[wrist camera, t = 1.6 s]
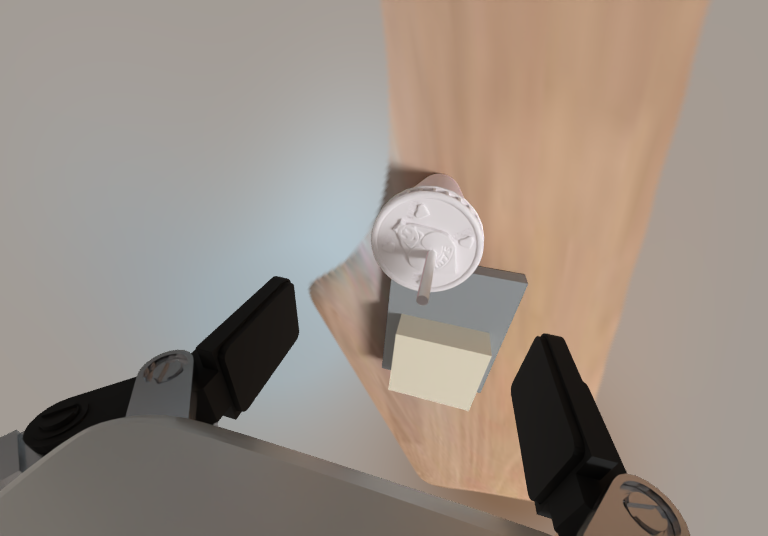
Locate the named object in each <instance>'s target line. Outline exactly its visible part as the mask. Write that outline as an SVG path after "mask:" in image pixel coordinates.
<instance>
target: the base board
mask: <svg viewBox="0 0 768 536" xmlns="http://www.w3.org/2000/svg"><path fill="white" fill-rule="evenodd" d="M527 285H528V282H527V279H526V276H525V275H524V274H519V273H513V272H508V271H502V270H497V269H492V268H486V267H481V266H477V268H476V270H475V271H474V272H473V273H472V275H471V276H470V277H469V278H467V279H466V280H465V281H464V282H462V283H461V284H459V285H457V286H455V287H453V288H450V289H447V290H444V291H438V292H430V297H429V302H428V304H427V305H423V306H422V305H419V304H418V303H417V302H416V297H417V293H418V291H416V290H412V289H409V288H406V287H404V286H402V285H400V284H398V283H396V282H395V281H393V280H392V279H391V286H390V296H389V305H388V315H387V324H386V334H385V343H384V353H383V362H382V368H385V369H388V370H391V374H390V382H389V389H388V390H392V391H396V392H400V393H403V394H407V395H411V396H414V397H418V398H422V399H426V400H429V401H433V402H437V403H441V404H444V405H448V406H452V407H456V408H459V409H463V410H467V411H469V409H470V406H471V404H472V402H473V399H474V397H475V395H476V392H478V393H480V392H481V390H482V388H483V385H484V383H485V381H486V379H487V376H488V374H489V372H490V369H491V367H492V365H493V363H494V360H495V358H496V356H497V353H498V351H499V349H500V347H501V344H502V342H503V340H504V338H505V335H506V333H507V331H508V328H509V326H510V324H511V322H512V319H513V317H514V315H515V312H516V310H517V308H518V306H519V303H520V301H521V299H522V296H523V294H524V292H525V290H526V287H527Z"/></svg>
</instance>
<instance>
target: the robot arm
mask: <svg viewBox="0 0 768 536" xmlns="http://www.w3.org/2000/svg"><path fill="white" fill-rule="evenodd" d="M298 335H299V326H298V317H297V309H296V300H295V291H294V285H293V284H292V283H291V282H290V280H289V279H287V278H282V277H277V276H275V277H273V278H272V279H270V280H269V281H268V282H267V283H266V284H265V285H264V286H263V287H262V288H261V289H259V290H258V291H257V292H256V293H255V294H254V295H253V296H252V297H251V298H250V299H249V300H247V301H246V302H245V303H244V304H243V305H242V306H241V307H240V308H239V309H237V310H236V311H235V312H234V313H233V314H232V315H231V316H230V317H229V318H228V319H227V320H225V321H224V322H223V323H222V324H221V325H220V326H219V327H218V328H217V329H216V330H214V331H213V332H212V333H211V334H210V335H209V336H208V337H207V338H206V339H205V340H203V341H202V342H201V343H200V344H199V345H198V346H197V347H196V349H195V350H194V351H193V352H192V353H190V352H187V351H185V350H173V351H168V352H165V353H162V354H160V355H158V356H156V357H154V358H153V359H151V360H150V361H148V362H147V363H146V364H145V365H144V366H143V367H142V368H141V369H140V371H139V373H138V375H137V377H134V378H131V379H128V380H125V381H122V382H118V383H115V384H112V385H109V386H106V387H103V388H100V389H96V390H93V391H90V392H87V393H84V394H81V395H77V396H74V397H71V398H68V399H66V400H63V401H60V402H58V403H56V404H55V405H53V406H51V407H49V408H47V409H46V410H45V411H43V412H42V413H40V414H39V415H38V416H37V417H36V418H35V419H34V420H33V421H32V422H31V423H30V424H29V425H28V426H27V428H26V430H25V431H23V432H21V433H20V432H19V431H17V430H15V431H13V432H11V433H9V434H7V435H5V436H3V437H0V536H551V535H549V534H546V533H544V532H541V531H538V530H535V529H532V528H529V527H526V526H524V525H520V524H518V523H515V522H512V521H509V520H506V519H503V518H501V517H497V516H494V515H492V514H489V513H486V512H483V511H480V510H477V509H474V508H471V507H468V506H465V505H462V504H459V503H456V502H453V501H450V500H447V499H444V498H440V497H437V496H434V495H431V494H428V493H425V492H422V491H419V490H416V489H413V488H410V487H407V486H404V485H400V484H397V483H394V482H391V481H388V480H385V479H382V478H379V477H376V476H373V475H369V474H366V473H364V472H360V471H357V470H354V469H351V468H348V467H345V466H342V465H339V464H336V463H332V462H329V461H326V460H323V459H320V458H317V457H314V456H311V455H307V454H304V453H301V452H298V451H295V450H291V449H288V448H285V447H282V446H279V445H276V444H273V443H269V442H266V441H263V440H260V439H257V438H254V437H251V436H247V435H244V434H241V433H238V432H234V431H231V430H227V429H224V428H221V427H218V421H219V420H220V419H221V417H222V416H226V417H229V418H232V419H237V418H238V416H239V415H240V413H241V412H242V411H243V412H244V411H246V410H247V409H248V408H249V407H250V405H251V404H252V402H253V401H254V399H255V398H256V397H257V395H258V394H259V392H260V391H261V390H262V388H263V387H264V385H265V384H266V383H267V381H268V380H269V378H270V377H271V375H272V374H273V372H274V371H275V370H276V368H277V367H278V365H279V364H280V363H281V361H282V360H283V358H284V357H285V356H286V354H287V353H288V351H289V350H290V348H291V347H292V345H293V344H294V343H295V341H296V340H297V338H298ZM511 396H512V402H513V408H514V414H515V420H516V426H517V432H518V437H519V443H520V449H521V455H522V461H523V467H524V473H525V479H526V485H527V491H528V495H529V498H530V499H531V500H532V501H535V506H536V512H537V514H538V515H541V516H544V517H547V518H551V519H552V521H553V526H554V530H555V531H556V532H557V533H556V534H555V536H690V533H689V530H688V527H687V524H686V522H685V520H684V519H683V517H682V515H681V513H680V512H679V510H678V509H677V508H676V506H675V505H674V504H673V503H672V502H671V500H670V499H669V498H668V497H667V496H666V495H665V494H663V493H662V492H661V491H660V490H659V489H658V488H656V487H655V486H654V485H652V484H651V483H649V482H648V481H646V480H644V479H642V478H640V477H638V476H636V475H631V474H627V473H626V470H625V468H624V466H623V463H622V461H621V459H620V457H619V454H618V452H617V450H616V448H615V446H614V443H613V441H612V439H611V437H610V434H609V432H608V430H607V428H606V425H605V423H604V421H603V419H602V416H601V414H600V412H599V410H598V407H597V405H596V403H595V401H594V399H593V396H592V394H591V392H590V390H589V388H588V386H587V384H586V383H584V382H583V381H582V379H581V377H580V374H579V372H578V370H577V367H576V365H575V363H574V361H573V358H572V356H571V354H570V351H569V349H568V347H567V344H566V342H565V340H564V338H562V337H559V336H555V335H550V334H542V335H541V337H539V336H537V337H536V338H535V339H534V341H533V343H532V345H531V347H530V349H529V351H528V353H527V355H526V357H525V359H524V361H523V363H522V365H521V367H520V369H519V371H518V373H517V375H516V377H515V379H514V381H513V383H512V386H511Z"/></svg>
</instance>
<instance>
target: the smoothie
mask: <svg viewBox="0 0 768 536" xmlns="http://www.w3.org/2000/svg"><path fill="white" fill-rule="evenodd" d="M371 244H372V250H373V254H374V257H375V259H376V261H377V263H378V265H379V266H380V268H381V269H382V270H383V271H384V273H385V274H386V275H387V276H388V277H390V278H391V279H392V280H393V281H395V282H396V283H398V284H400V285H402V286H404V287H406V288H409V289H412V290H416V291H418V293H417V297H416V302H417V303H418V304H419V305H422V306H423V305H427V304H428V302H429V297H430V292H438V291H444V290H447V289H450V288H453V287H455V286H457V285H459V284H461V283H462V282H464V281H465V280H466V279H467V278H469V277H470V276H471V275H472V273H473V272H474V271H475V270H476V268H477V266H478V265H479V263H480V260H481V257H482V254H483V247H484V234H483V225H482V223H481V221H480V218H479V216H478V214H477V212H476V210H475V209H474V208H473V207H472V206H471V205H470V203H469V202H468V201H467V200H466V199H464V196H463V194H462V192H461V190H460V188H459V186H458V184H457V182H456V181H455V180H454V179H453V178H452V177H450V176H448V175H445V174H433V175H430V176H428V177H426V178H425V179H424V180H422V181H421V182H420V183H419V184H417V185H416V186H415V187H413V188H409V189H406V190H404V191H402V192H400V193H398V194H396V195H394V196H393V197H392V198H391V199H390V200H389V201H388V202H387V203H386V204H385V205H384V206H383V207H382V209H381V211H380V213H379V214H378V216H377V219H376V221H375V223H374V226H373V229H372V235H371Z"/></svg>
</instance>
